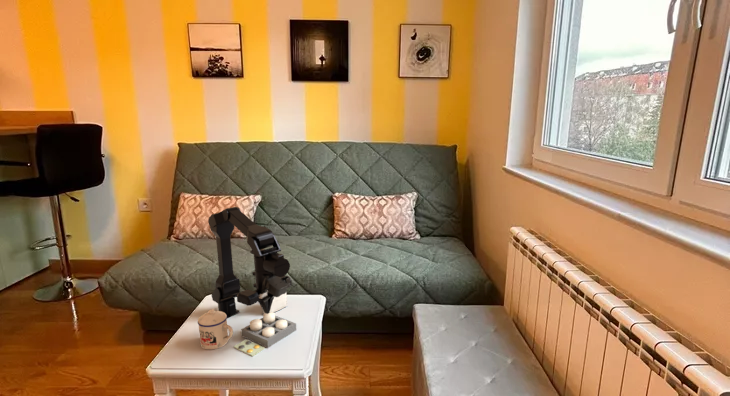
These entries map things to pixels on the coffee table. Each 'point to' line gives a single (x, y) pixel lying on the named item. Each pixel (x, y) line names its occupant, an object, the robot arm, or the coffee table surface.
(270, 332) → the button
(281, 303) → the photo printer
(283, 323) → the button
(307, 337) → the coffee table surface
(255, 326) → the button
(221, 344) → the teacup with lid
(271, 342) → the lights out board
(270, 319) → the button
